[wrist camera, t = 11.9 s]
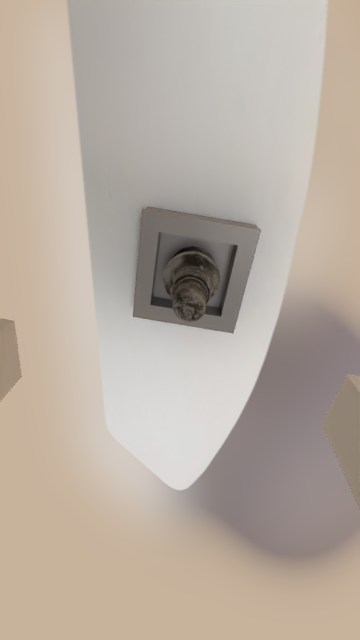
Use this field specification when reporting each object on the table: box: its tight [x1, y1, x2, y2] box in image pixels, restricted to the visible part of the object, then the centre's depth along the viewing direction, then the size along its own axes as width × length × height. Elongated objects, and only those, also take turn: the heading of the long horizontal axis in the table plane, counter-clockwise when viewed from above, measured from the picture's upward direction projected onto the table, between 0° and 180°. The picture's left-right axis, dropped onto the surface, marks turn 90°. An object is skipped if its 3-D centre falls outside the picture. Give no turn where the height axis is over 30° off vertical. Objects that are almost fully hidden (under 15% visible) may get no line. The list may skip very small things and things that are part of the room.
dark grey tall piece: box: [163, 246, 220, 322], centre depth 29 cm, size 6×6×12 cm
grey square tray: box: [133, 207, 261, 333], centre depth 33 cm, size 12×12×3 cm
